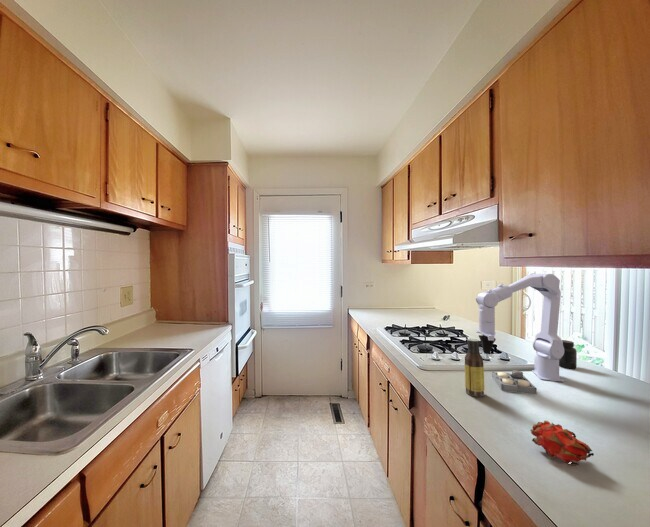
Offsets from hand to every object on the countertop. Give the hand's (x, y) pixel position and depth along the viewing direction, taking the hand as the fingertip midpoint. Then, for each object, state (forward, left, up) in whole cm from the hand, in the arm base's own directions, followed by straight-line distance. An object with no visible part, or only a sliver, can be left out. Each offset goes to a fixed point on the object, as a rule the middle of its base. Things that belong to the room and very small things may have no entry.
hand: (486, 353), depth 115 cm
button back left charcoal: (+1, +11, -8) cm, 13 cm away
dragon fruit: (+48, +5, -11) cm, 49 cm away
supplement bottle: (-26, +39, -11) cm, 48 cm away
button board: (+5, +8, -10) cm, 14 cm away
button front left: (+8, +11, -9) cm, 16 cm away
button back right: (+1, +5, -9) cm, 11 cm away
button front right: (+8, +5, -9) cm, 13 cm away
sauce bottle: (+17, -8, -11) cm, 22 cm away
